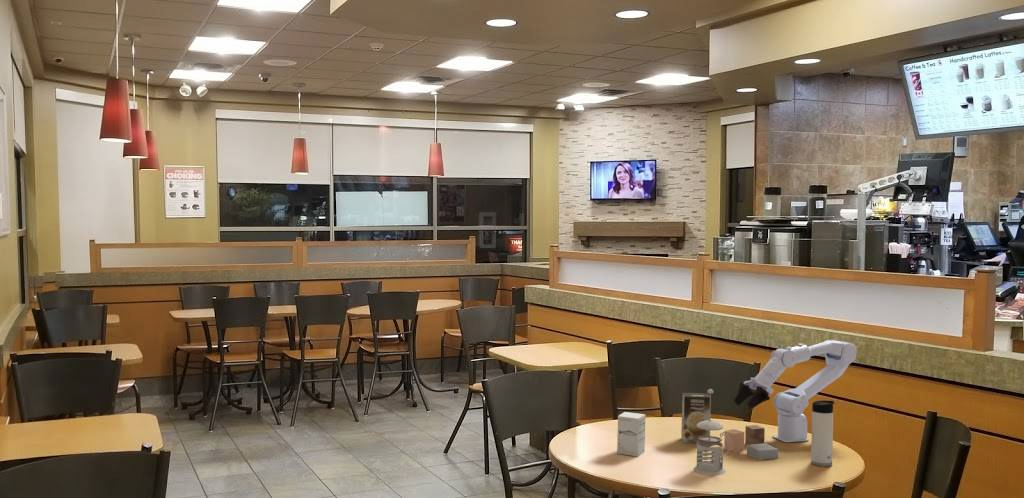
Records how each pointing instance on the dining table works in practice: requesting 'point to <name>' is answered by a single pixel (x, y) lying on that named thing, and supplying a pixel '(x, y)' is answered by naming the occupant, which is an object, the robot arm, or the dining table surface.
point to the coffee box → (694, 416)
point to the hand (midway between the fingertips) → (742, 405)
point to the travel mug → (822, 433)
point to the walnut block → (754, 434)
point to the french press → (710, 448)
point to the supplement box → (631, 434)
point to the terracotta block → (734, 440)
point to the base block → (762, 451)
